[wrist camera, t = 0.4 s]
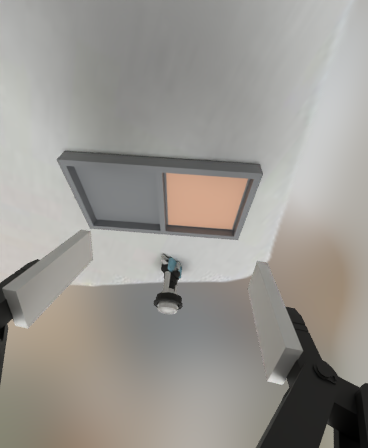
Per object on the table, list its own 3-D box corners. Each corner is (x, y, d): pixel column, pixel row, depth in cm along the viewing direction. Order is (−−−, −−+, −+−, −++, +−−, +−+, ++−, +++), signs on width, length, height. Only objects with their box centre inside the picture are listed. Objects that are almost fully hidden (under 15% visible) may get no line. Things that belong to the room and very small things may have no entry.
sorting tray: (64, 151, 25) (56, 159, 24) (259, 164, 25) (262, 173, 23) (94, 219, 34) (90, 228, 33) (236, 230, 34) (237, 239, 33)
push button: (152, 256, 42) (142, 304, 35) (174, 250, 40) (168, 300, 33) (169, 271, 46) (162, 316, 39) (189, 266, 44) (186, 314, 37)
